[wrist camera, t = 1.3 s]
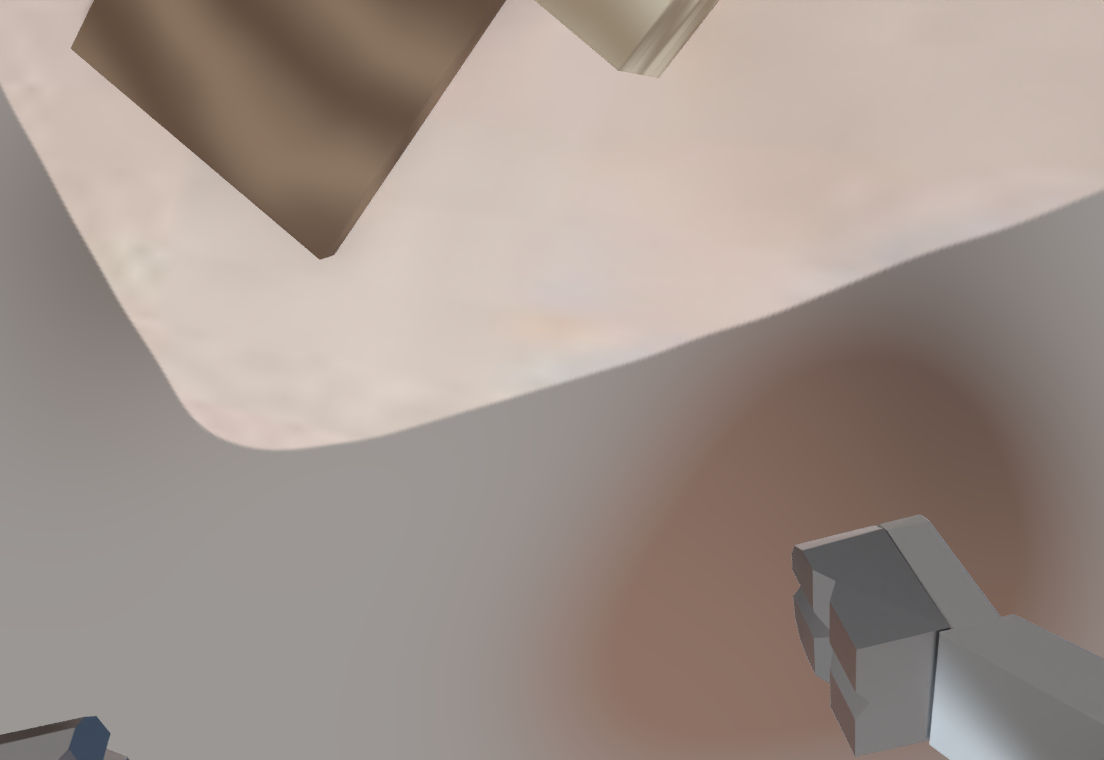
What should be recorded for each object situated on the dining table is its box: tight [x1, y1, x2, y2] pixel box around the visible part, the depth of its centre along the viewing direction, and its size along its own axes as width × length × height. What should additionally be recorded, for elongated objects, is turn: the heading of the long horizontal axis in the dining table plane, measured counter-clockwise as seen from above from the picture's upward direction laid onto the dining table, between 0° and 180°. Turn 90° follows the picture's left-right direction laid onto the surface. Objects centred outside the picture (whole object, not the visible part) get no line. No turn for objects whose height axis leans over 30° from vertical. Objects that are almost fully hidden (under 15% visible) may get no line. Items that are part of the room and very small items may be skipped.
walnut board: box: [71, 0, 506, 259], centre depth 44 cm, size 16×16×2 cm
